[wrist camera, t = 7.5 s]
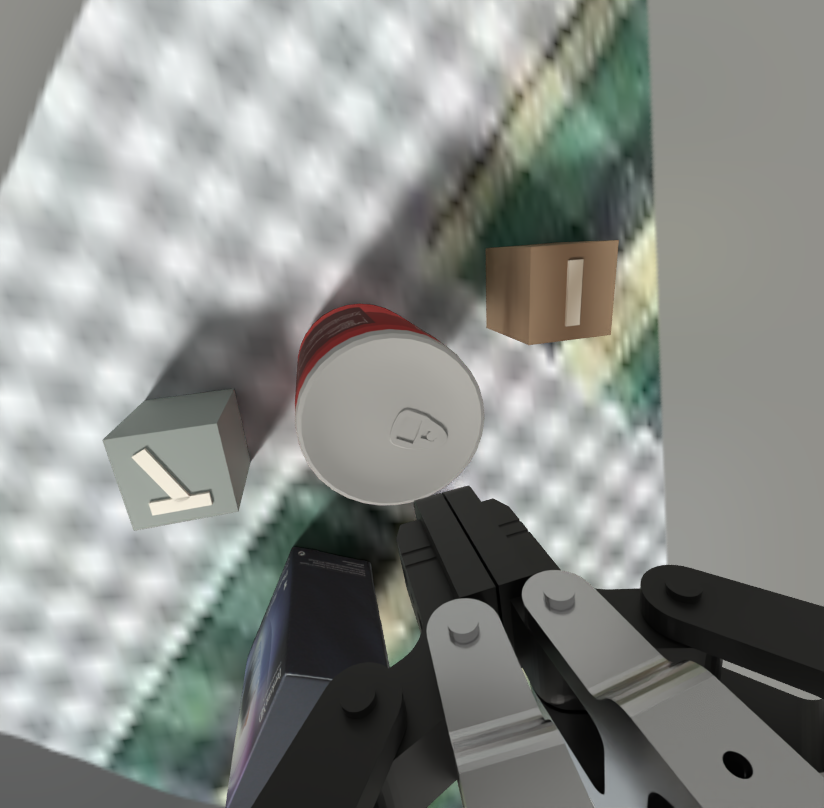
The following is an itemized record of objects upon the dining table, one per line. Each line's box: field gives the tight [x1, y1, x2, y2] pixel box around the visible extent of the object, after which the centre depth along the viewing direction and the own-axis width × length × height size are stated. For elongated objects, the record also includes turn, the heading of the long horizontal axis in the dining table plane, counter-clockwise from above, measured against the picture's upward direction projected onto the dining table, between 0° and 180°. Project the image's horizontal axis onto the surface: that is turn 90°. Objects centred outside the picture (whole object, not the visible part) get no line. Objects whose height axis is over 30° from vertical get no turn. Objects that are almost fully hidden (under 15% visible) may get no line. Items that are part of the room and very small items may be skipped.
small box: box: [225, 547, 390, 808], centre depth 28 cm, size 11×6×10 cm, turn 156°
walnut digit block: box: [486, 240, 619, 345], centre depth 26 cm, size 5×5×6 cm
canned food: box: [295, 304, 484, 505], centre depth 23 cm, size 8×8×11 cm
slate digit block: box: [103, 388, 251, 531], centre depth 24 cm, size 5×5×6 cm
